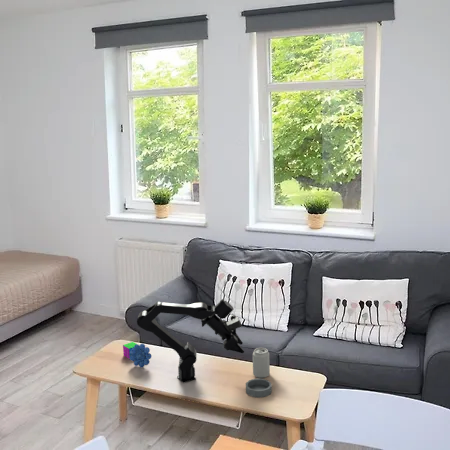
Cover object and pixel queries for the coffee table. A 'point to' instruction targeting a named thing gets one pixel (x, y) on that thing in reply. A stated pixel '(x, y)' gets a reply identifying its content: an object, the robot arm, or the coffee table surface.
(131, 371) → the coffee table surface
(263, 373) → the can
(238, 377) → the coffee table surface
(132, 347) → the puzzle toy
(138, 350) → the grapes
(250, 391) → the ring holder
